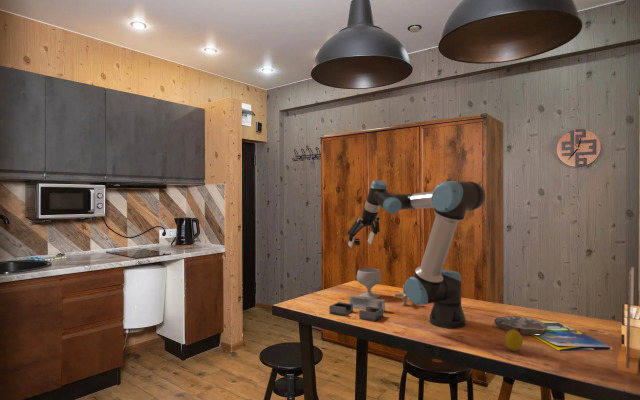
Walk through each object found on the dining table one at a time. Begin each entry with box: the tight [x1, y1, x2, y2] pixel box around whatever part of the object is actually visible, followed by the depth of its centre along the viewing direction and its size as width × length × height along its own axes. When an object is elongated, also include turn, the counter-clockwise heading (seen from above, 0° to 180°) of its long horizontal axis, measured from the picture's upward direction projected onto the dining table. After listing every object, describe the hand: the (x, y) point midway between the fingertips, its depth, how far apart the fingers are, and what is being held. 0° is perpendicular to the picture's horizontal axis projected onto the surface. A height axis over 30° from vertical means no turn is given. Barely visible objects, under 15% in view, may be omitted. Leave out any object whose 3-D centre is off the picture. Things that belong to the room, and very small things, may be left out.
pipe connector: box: [394, 284, 409, 306], centre depth 196 cm, size 10×10×10 cm
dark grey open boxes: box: [329, 301, 384, 322], centre depth 180 cm, size 24×9×4 cm, turn 58°
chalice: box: [356, 267, 382, 299], centre depth 214 cm, size 14×14×15 cm
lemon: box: [504, 329, 523, 352], centre depth 135 cm, size 6×6×8 cm
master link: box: [348, 294, 386, 312], centre depth 190 cm, size 18×4×6 cm, turn 56°
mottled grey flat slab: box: [494, 315, 549, 336], centre depth 159 cm, size 20×17×3 cm
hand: (359, 244), depth 201 cm, fingers open, 13 cm apart
